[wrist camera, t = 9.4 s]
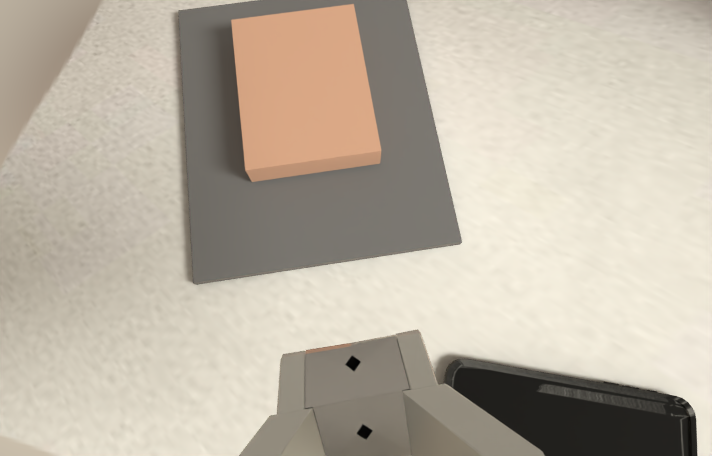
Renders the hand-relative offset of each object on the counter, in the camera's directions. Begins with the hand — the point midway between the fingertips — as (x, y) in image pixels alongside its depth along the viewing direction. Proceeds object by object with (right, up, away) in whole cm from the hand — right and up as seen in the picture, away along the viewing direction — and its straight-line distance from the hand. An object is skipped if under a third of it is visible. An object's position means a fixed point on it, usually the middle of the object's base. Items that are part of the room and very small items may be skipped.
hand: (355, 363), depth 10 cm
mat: (-3, +11, +24) cm, 27 cm away
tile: (-3, +7, +21) cm, 23 cm away
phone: (+13, -10, +19) cm, 25 cm away
